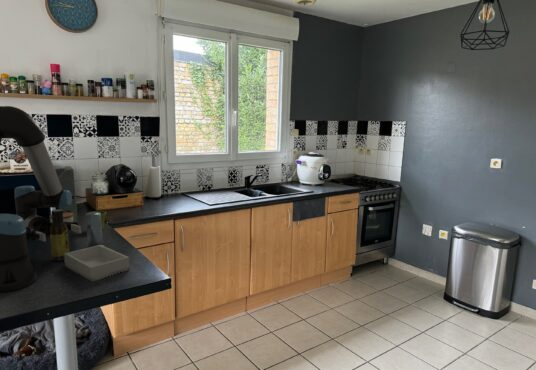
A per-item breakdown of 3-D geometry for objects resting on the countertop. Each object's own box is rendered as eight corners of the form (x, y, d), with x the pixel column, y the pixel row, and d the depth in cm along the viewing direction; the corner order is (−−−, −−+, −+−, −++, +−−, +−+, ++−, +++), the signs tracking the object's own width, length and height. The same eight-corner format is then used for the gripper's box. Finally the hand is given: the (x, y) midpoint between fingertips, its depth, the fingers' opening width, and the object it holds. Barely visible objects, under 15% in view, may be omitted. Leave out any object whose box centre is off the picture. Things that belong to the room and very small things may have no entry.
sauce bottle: (70, 259, 150) (66, 211, 146) (52, 262, 146) (48, 212, 143) (69, 255, 155) (65, 207, 152) (51, 257, 152) (47, 209, 148)
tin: (97, 249, 162) (94, 215, 160) (84, 248, 163) (82, 214, 161) (105, 245, 168) (103, 212, 165) (93, 244, 169) (91, 211, 167)
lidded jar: (70, 225, 200) (69, 208, 199) (77, 229, 193) (76, 211, 191) (47, 229, 193) (46, 211, 191) (54, 233, 185) (52, 215, 184)
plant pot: (111, 228, 194) (110, 212, 193) (94, 233, 187) (93, 216, 185) (100, 226, 199) (99, 210, 198) (83, 230, 191) (82, 213, 190)
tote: (129, 270, 139) (128, 257, 139) (91, 281, 129) (90, 267, 128) (101, 256, 154) (100, 244, 153) (65, 266, 143) (64, 253, 142)
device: (59, 220, 212) (54, 167, 207) (74, 218, 216) (70, 166, 211) (61, 226, 198) (56, 170, 193) (77, 224, 202) (73, 169, 197)
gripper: (68, 227, 170) (94, 235, 158) (5, 241, 150) (29, 251, 138) (66, 211, 169) (92, 218, 157) (3, 222, 149) (27, 231, 136)
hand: (63, 233), depth 147 cm, fingers open, 13 cm apart
